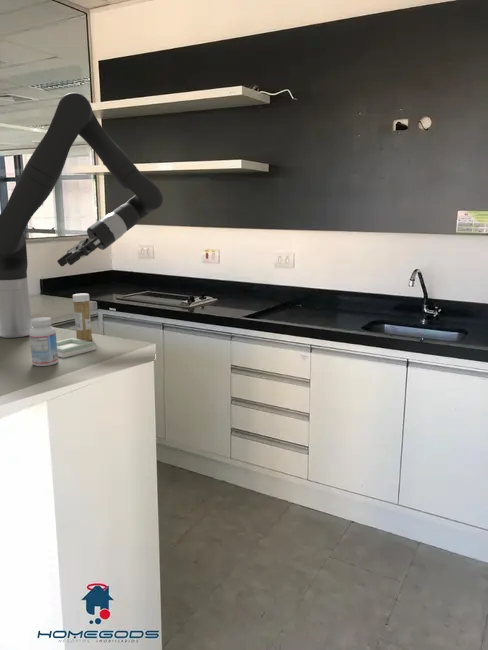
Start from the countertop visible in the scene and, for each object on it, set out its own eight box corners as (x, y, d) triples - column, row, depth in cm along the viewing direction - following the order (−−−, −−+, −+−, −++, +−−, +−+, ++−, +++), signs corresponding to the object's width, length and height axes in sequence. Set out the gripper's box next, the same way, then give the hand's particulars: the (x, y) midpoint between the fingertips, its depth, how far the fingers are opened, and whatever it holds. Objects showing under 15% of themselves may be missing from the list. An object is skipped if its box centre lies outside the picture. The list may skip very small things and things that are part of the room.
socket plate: (41, 351, 146) (40, 344, 146) (73, 344, 154) (73, 337, 153) (63, 357, 140) (62, 350, 139) (95, 349, 147) (95, 342, 147)
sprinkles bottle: (94, 340, 158) (91, 294, 155) (78, 342, 156) (75, 295, 153) (89, 337, 162) (86, 292, 159) (74, 339, 159) (70, 293, 156)
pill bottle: (49, 358, 139) (45, 315, 137) (63, 362, 135) (59, 318, 133) (27, 364, 135) (22, 319, 132) (40, 368, 131) (36, 322, 128)
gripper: (91, 222, 165) (48, 254, 158) (108, 216, 153) (62, 250, 146) (106, 243, 168) (64, 274, 161) (124, 239, 156) (79, 273, 149)
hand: (63, 263), depth 154 cm, fingers open, 8 cm apart
